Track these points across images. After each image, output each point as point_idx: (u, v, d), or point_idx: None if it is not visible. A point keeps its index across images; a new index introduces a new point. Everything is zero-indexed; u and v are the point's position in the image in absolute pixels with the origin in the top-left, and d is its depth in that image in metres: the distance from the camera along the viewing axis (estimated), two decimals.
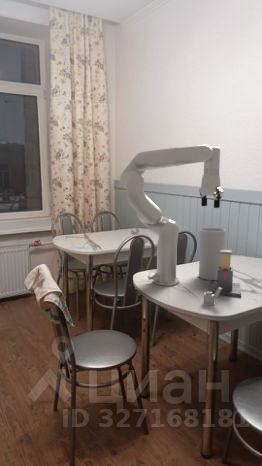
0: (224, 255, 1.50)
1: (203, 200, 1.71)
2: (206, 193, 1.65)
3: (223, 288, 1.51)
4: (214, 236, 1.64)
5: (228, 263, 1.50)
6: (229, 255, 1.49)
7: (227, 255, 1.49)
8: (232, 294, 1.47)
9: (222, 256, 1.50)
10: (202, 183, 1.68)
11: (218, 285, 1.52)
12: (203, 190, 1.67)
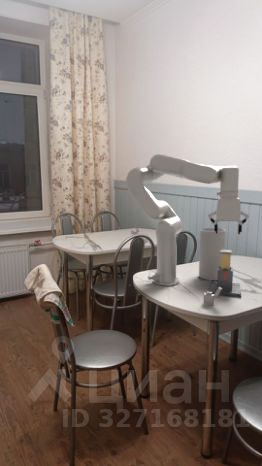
0: (224, 255, 1.50)
1: (217, 227, 1.49)
2: (228, 219, 1.46)
3: (223, 288, 1.51)
4: (214, 236, 1.64)
5: (228, 263, 1.50)
6: (229, 255, 1.49)
7: (227, 255, 1.49)
8: (232, 294, 1.47)
9: (222, 256, 1.50)
10: (220, 208, 1.46)
11: (218, 285, 1.52)
12: (223, 215, 1.46)
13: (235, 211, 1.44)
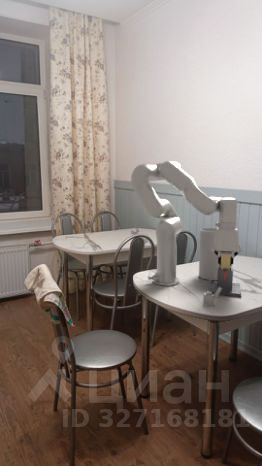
0: (224, 255, 1.50)
1: None
2: (226, 249, 1.48)
3: (223, 288, 1.51)
4: (214, 236, 1.64)
5: (228, 263, 1.50)
6: (229, 255, 1.49)
7: (227, 255, 1.49)
8: (232, 294, 1.47)
9: (222, 256, 1.50)
10: (218, 238, 1.48)
11: (218, 285, 1.52)
12: (221, 246, 1.49)
13: (233, 242, 1.47)
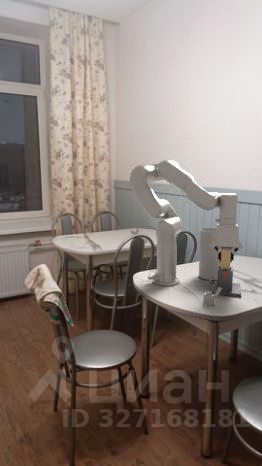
0: (224, 251, 1.49)
1: None
2: (226, 245, 1.48)
3: (223, 288, 1.51)
4: (214, 236, 1.64)
5: (228, 259, 1.50)
6: (229, 251, 1.49)
7: (227, 251, 1.49)
8: (232, 294, 1.47)
9: (222, 252, 1.50)
10: (219, 234, 1.48)
11: (218, 285, 1.52)
12: (221, 242, 1.48)
13: (233, 238, 1.47)
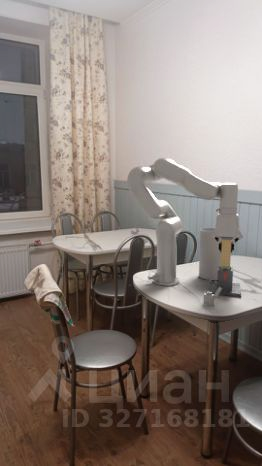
0: (225, 241, 1.49)
1: (221, 245, 1.50)
2: (227, 235, 1.47)
3: (223, 288, 1.51)
4: None
5: (229, 249, 1.49)
6: (230, 241, 1.48)
7: (228, 241, 1.48)
8: (232, 294, 1.47)
9: (223, 242, 1.49)
10: (219, 224, 1.47)
11: (218, 285, 1.52)
12: (221, 232, 1.47)
13: (234, 228, 1.46)
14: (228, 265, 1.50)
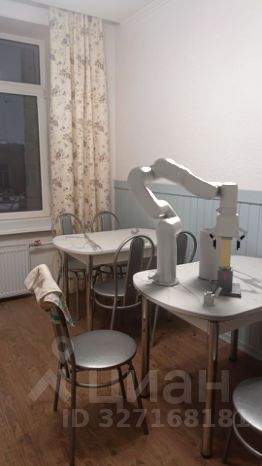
0: (225, 241, 1.49)
1: None
2: (227, 235, 1.47)
3: (223, 288, 1.51)
4: None
5: (229, 249, 1.49)
6: (230, 241, 1.48)
7: (228, 241, 1.48)
8: (232, 294, 1.47)
9: (223, 242, 1.49)
10: (219, 224, 1.47)
11: (218, 285, 1.52)
12: (221, 232, 1.47)
13: (234, 227, 1.46)
14: (228, 265, 1.50)
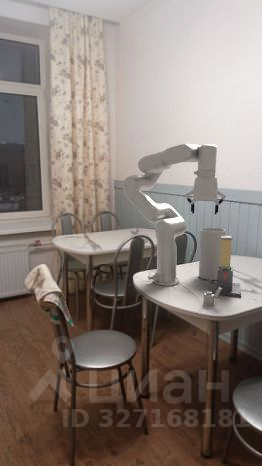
0: (225, 241, 1.49)
1: None
2: (205, 198, 1.43)
3: (223, 288, 1.51)
4: (214, 236, 1.64)
5: (229, 249, 1.49)
6: (230, 241, 1.48)
7: (228, 241, 1.48)
8: (232, 294, 1.47)
9: (223, 242, 1.49)
10: (197, 187, 1.43)
11: (218, 285, 1.52)
12: (199, 195, 1.43)
13: (212, 191, 1.42)
14: (228, 265, 1.50)
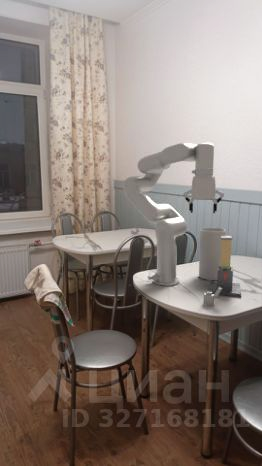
0: (225, 241, 1.49)
1: (192, 206, 1.47)
2: (203, 197, 1.43)
3: (223, 288, 1.51)
4: (214, 236, 1.64)
5: (229, 249, 1.49)
6: (230, 241, 1.48)
7: (228, 241, 1.48)
8: (232, 294, 1.47)
9: (223, 242, 1.49)
10: (195, 186, 1.43)
11: (218, 285, 1.52)
12: (197, 194, 1.43)
13: (210, 189, 1.42)
14: (228, 265, 1.50)
